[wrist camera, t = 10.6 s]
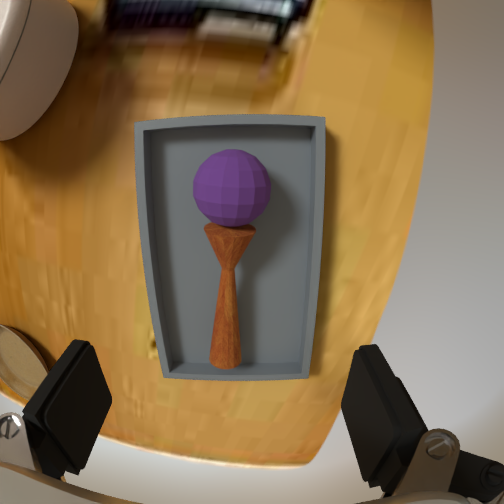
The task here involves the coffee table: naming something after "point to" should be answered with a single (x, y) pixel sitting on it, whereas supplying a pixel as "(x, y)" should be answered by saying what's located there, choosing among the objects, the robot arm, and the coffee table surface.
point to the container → (33, 59)
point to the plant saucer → (20, 363)
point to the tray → (254, 257)
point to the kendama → (229, 234)
